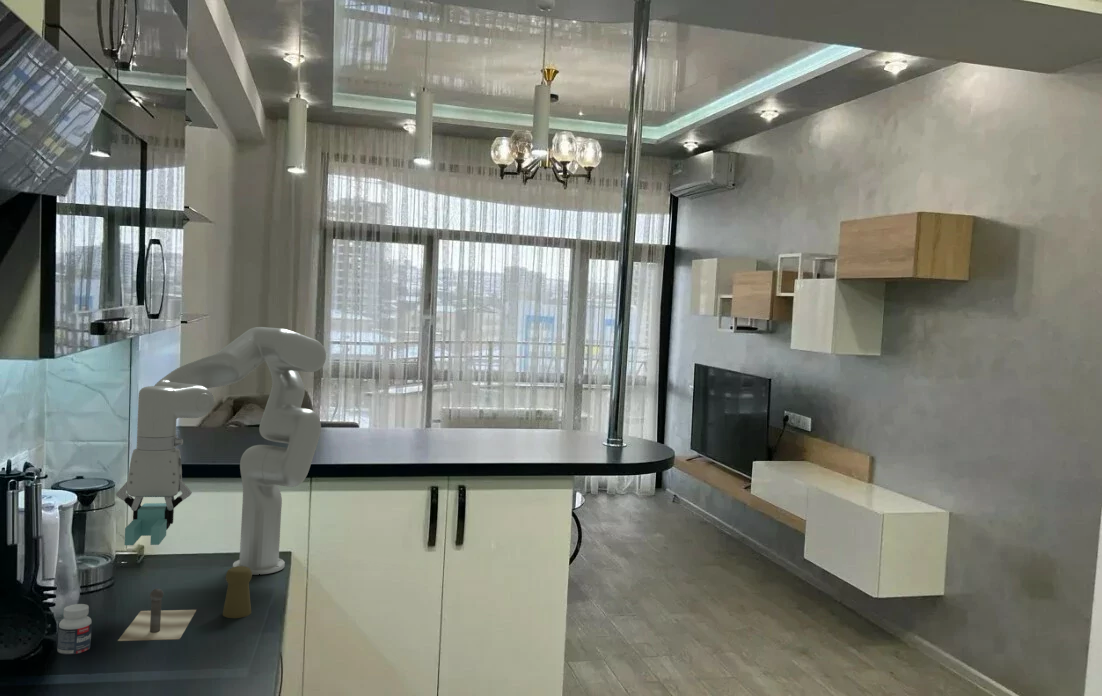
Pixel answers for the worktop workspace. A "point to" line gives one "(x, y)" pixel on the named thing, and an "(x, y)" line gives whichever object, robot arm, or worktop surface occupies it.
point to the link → (148, 524)
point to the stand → (158, 622)
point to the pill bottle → (74, 630)
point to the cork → (238, 592)
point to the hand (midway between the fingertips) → (153, 526)
